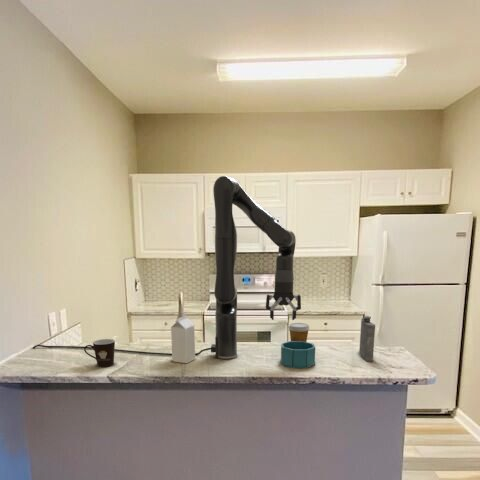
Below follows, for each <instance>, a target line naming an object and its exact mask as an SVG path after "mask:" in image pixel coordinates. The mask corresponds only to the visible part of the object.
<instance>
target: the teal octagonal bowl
mask: <svg viewBox="0 0 480 480" xmlns="http://www.w3.org/2000/svg"><path fill="white" fill-rule="evenodd" d="M280 363H281V364H282V365H283V366H284V367H287V368H293V369H305V368H306V369H307V368H311V367H313V366H314V365H315V364H316V346H315V344H314V343H312V342H308V341H307V342H304V341H291V340H288V341H285V342H282V343H281V344H280Z"/></svg>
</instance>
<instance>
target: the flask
mask: <svg viewBox="0 0 480 480" xmlns="http://www.w3.org/2000/svg"><path fill="white" fill-rule="evenodd" d="M371 319H372V316H369V315H364V316H362V317H361V319H360V333H359V334H360V335H359V349H358V354H359V356H360V357H361V359H363V360H364V361H366V362H368V363H369V362H371V363H372V362H373V361H374V351H375V350H374V349H375V348H374V347H375V336H376V324H375V323H373V322H372V321H371Z"/></svg>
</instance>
